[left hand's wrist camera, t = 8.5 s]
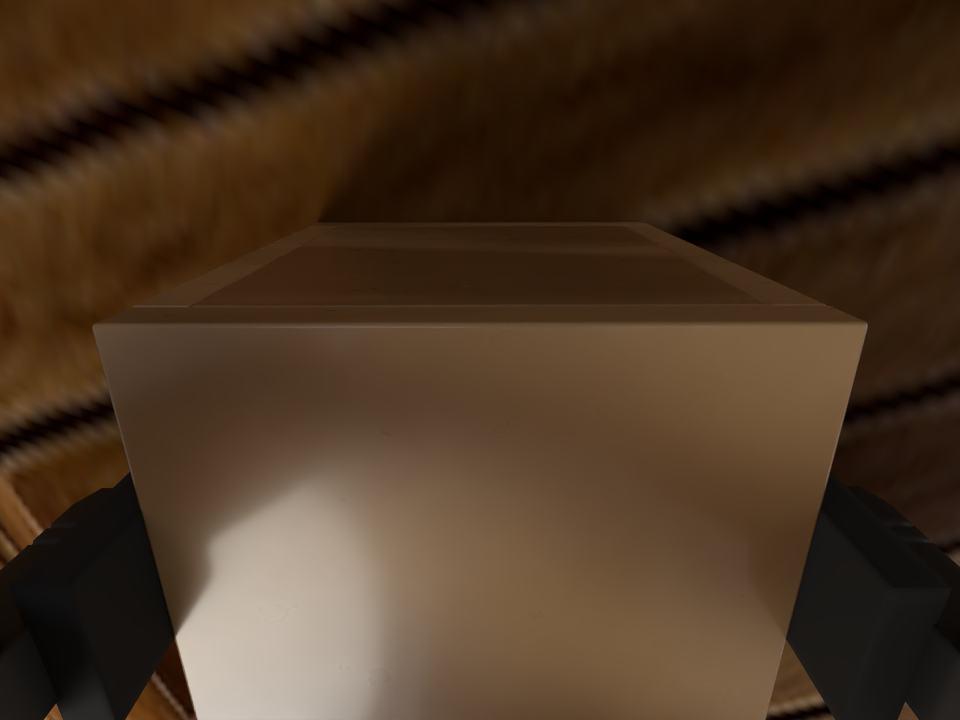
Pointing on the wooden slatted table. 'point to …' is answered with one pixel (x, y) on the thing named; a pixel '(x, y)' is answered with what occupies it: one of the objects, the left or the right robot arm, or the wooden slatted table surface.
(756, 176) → the wooden slatted table surface
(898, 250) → the wooden slatted table surface
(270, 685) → the cabinet
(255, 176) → the wooden slatted table surface
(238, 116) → the wooden slatted table surface
